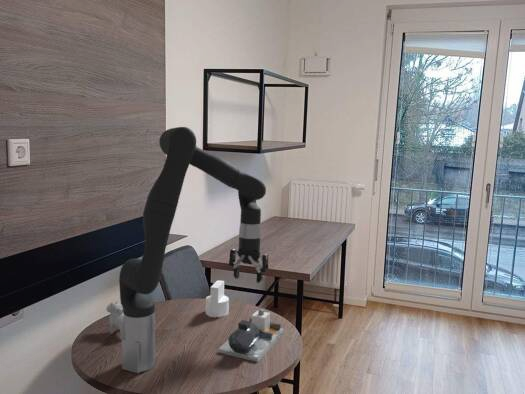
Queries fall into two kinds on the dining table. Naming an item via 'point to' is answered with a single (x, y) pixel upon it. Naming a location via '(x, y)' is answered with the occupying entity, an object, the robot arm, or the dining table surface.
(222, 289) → the white appliance knob
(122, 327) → the dog figurine
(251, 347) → the motor mount
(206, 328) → the dining table surface
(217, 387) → the dining table surface
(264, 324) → the cube with round knob
